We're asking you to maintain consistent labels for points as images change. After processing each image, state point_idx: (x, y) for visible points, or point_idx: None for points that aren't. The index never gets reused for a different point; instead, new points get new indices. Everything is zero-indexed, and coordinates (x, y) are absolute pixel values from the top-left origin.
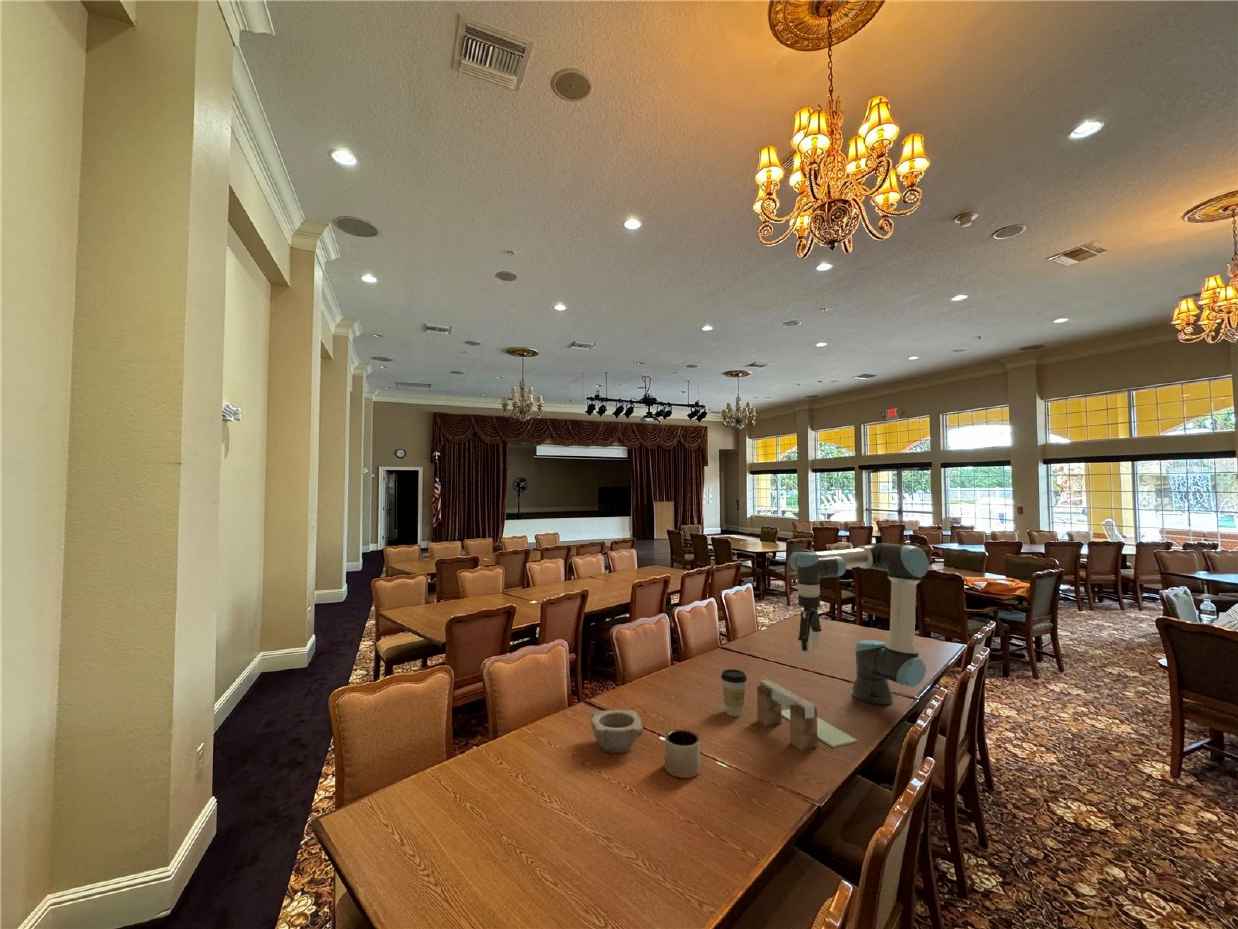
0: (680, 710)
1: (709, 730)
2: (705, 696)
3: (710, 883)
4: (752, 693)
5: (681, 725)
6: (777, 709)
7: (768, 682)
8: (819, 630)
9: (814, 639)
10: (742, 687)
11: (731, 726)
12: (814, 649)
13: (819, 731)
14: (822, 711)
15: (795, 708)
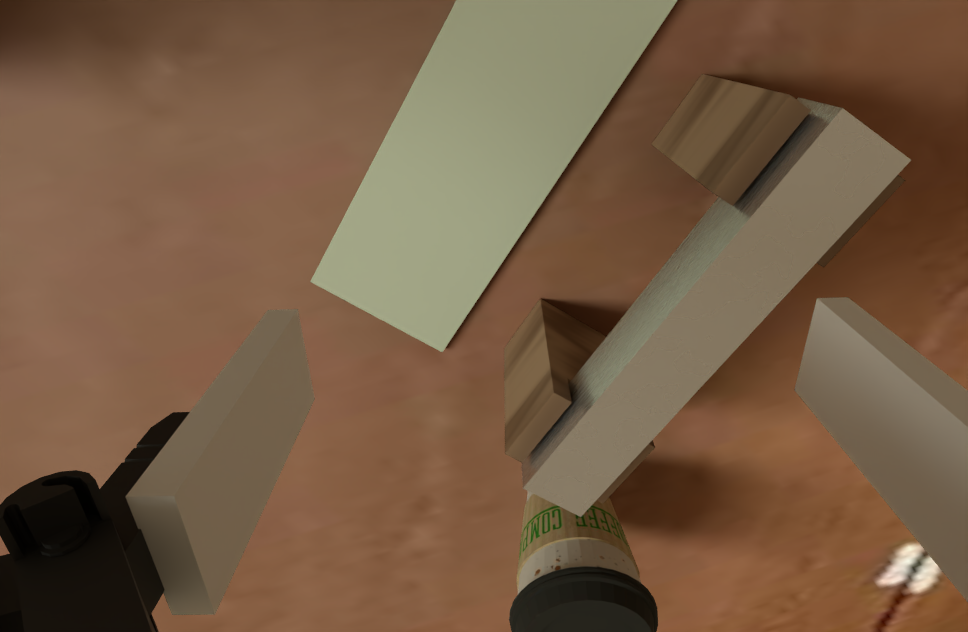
0: (665, 621)
1: (782, 495)
2: (481, 607)
3: None
4: (308, 493)
5: (790, 576)
6: (566, 343)
7: (575, 473)
8: (77, 519)
9: (259, 456)
10: (602, 549)
11: (701, 448)
12: (307, 367)
13: (542, 109)
14: (250, 171)
15: (865, 222)
